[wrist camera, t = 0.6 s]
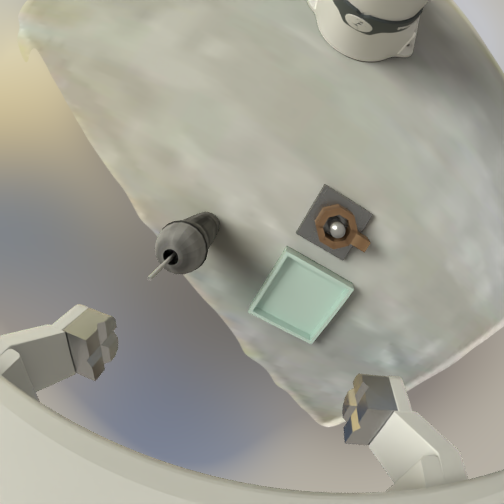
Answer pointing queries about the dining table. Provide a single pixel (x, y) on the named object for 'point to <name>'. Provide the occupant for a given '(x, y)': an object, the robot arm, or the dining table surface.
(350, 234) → the ring
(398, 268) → the dining table surface
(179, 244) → the beverage cup
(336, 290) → the tray
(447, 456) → the robot arm
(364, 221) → the stake
